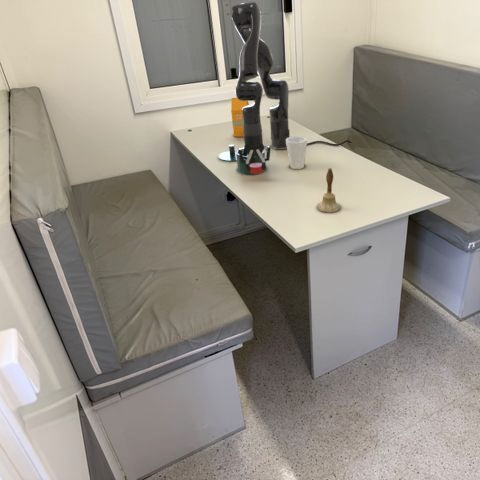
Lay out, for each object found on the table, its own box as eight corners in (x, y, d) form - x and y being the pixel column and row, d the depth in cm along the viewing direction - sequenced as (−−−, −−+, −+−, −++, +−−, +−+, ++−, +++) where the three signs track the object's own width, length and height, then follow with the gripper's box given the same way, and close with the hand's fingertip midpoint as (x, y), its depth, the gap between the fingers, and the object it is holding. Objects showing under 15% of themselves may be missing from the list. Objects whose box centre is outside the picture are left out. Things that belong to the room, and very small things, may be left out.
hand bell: (338, 202, 169) (339, 164, 161) (340, 212, 162) (341, 173, 154) (317, 203, 169) (317, 164, 160) (318, 212, 162) (318, 173, 153)
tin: (264, 163, 205) (262, 146, 200) (267, 173, 194) (265, 155, 190) (237, 165, 202) (235, 148, 198) (238, 175, 192) (236, 157, 187)
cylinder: (262, 168, 190) (261, 162, 188) (263, 173, 185) (262, 166, 183) (249, 169, 189) (248, 163, 187) (250, 174, 184) (249, 168, 182)
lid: (245, 151, 218) (244, 140, 215) (247, 161, 207) (246, 149, 203) (218, 153, 215) (217, 141, 212) (218, 163, 204) (217, 151, 201)
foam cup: (310, 164, 203) (310, 137, 196) (301, 171, 196) (301, 144, 189) (292, 161, 206) (291, 135, 200) (283, 168, 199) (282, 141, 193)
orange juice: (249, 136, 239) (246, 99, 228) (233, 136, 239) (229, 99, 229) (251, 132, 246) (248, 96, 235) (236, 132, 246) (232, 96, 235)
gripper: (269, 128, 182) (271, 165, 191) (234, 130, 179) (239, 168, 188) (271, 134, 176) (273, 172, 185) (235, 136, 173) (240, 175, 182)
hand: (256, 170), depth 186 cm, fingers closed on cylinder, 5 cm apart
